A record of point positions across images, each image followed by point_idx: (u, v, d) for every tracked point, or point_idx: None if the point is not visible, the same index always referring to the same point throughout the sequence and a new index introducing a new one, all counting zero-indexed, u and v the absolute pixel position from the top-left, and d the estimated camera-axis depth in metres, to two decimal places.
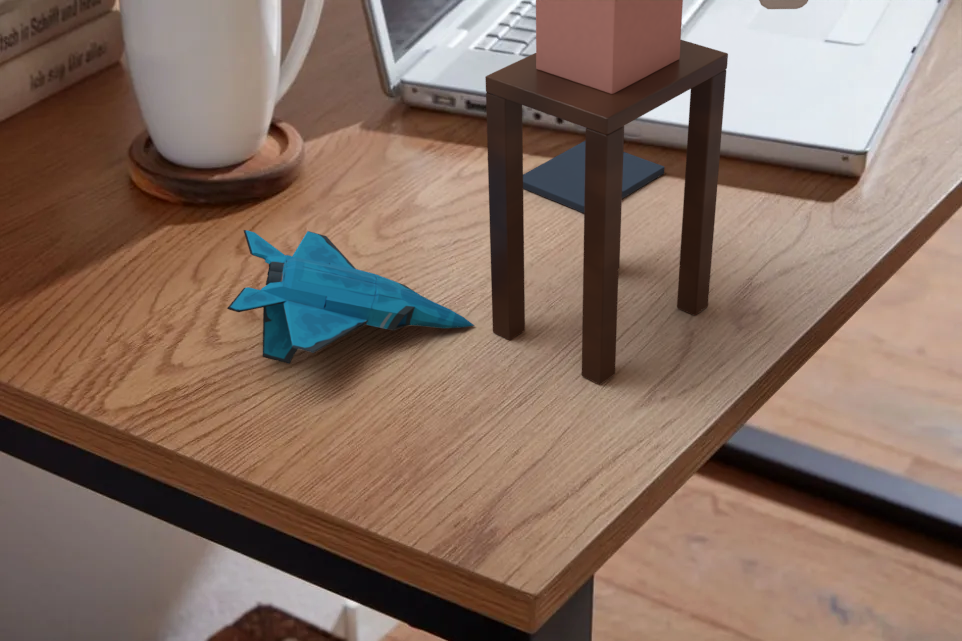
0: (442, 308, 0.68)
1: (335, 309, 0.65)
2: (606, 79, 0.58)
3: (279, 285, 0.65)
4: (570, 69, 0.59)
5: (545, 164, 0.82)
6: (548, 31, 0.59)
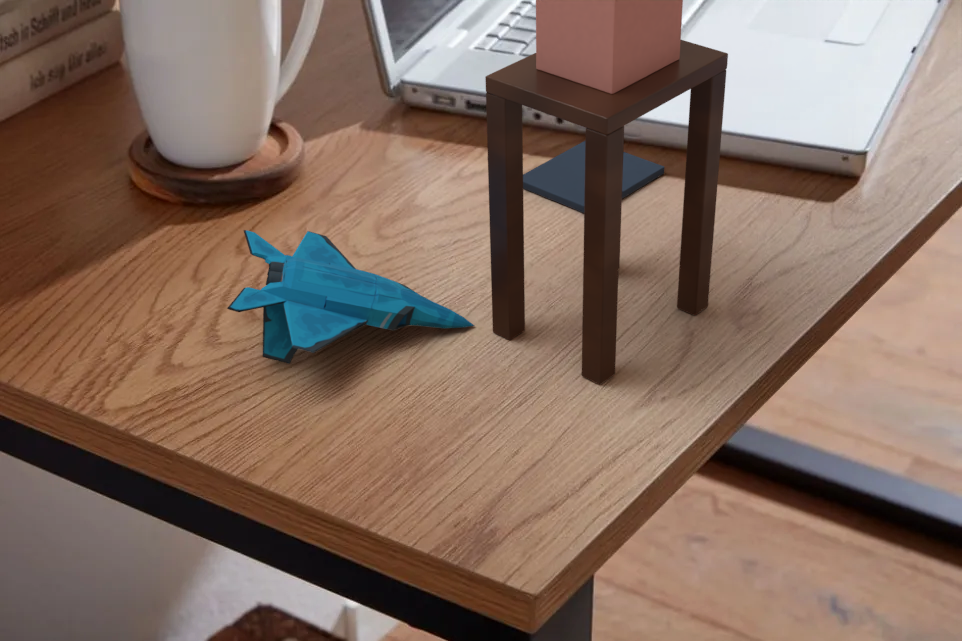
0: (442, 308, 0.68)
1: (335, 309, 0.65)
2: (606, 79, 0.58)
3: (279, 285, 0.65)
4: (570, 69, 0.59)
5: (545, 164, 0.82)
6: (548, 31, 0.59)
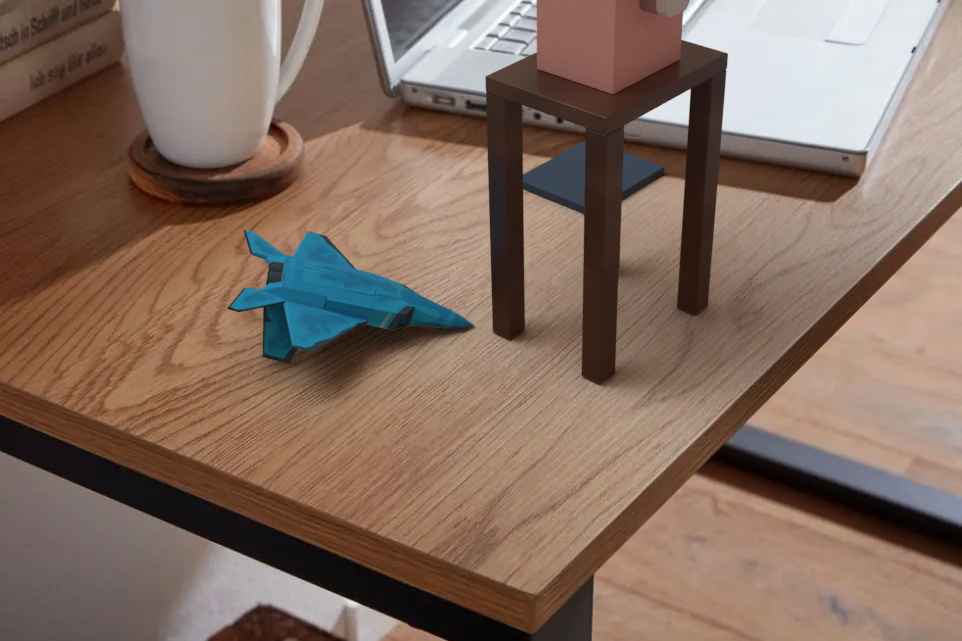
0: (442, 308, 0.68)
1: (335, 309, 0.65)
2: (607, 79, 0.58)
3: (279, 285, 0.65)
4: (571, 69, 0.59)
5: (545, 164, 0.82)
6: (549, 31, 0.59)
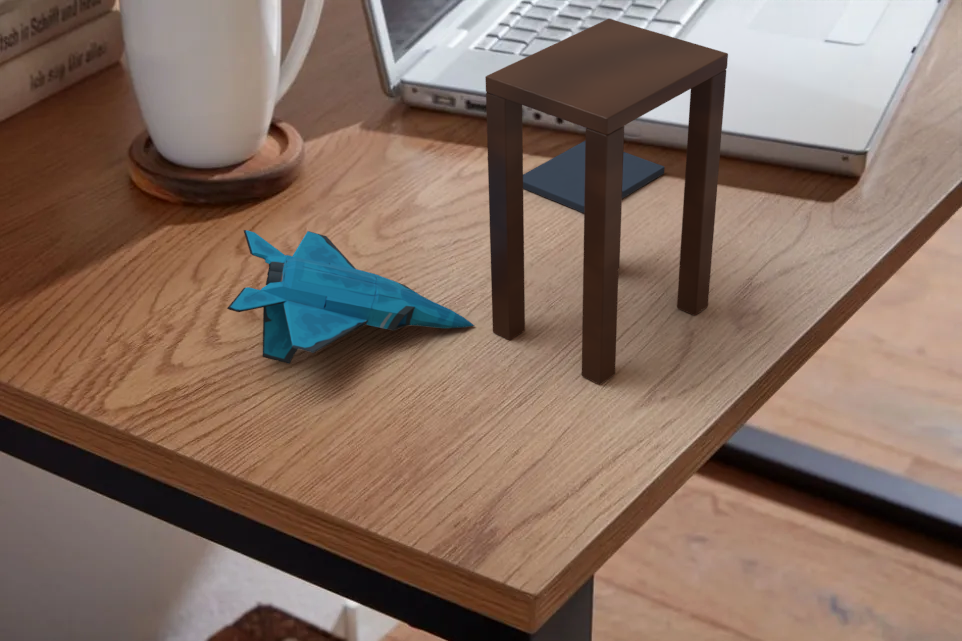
0: (442, 308, 0.68)
1: (335, 309, 0.65)
2: None
3: (279, 285, 0.65)
4: None
5: (545, 164, 0.82)
6: None
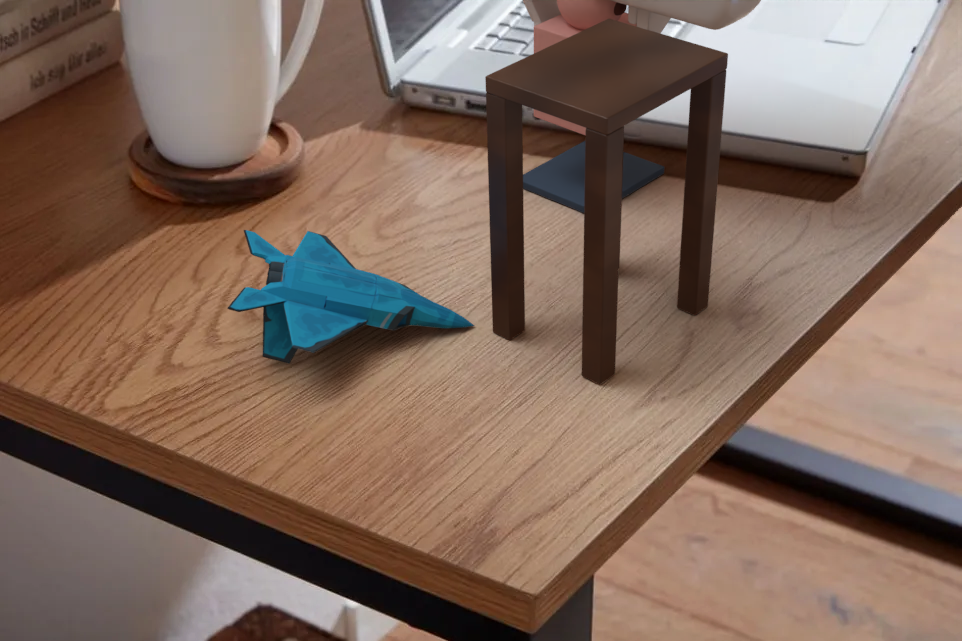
0: (442, 308, 0.68)
1: (335, 309, 0.65)
2: None
3: (279, 285, 0.65)
4: None
5: (545, 164, 0.82)
6: None
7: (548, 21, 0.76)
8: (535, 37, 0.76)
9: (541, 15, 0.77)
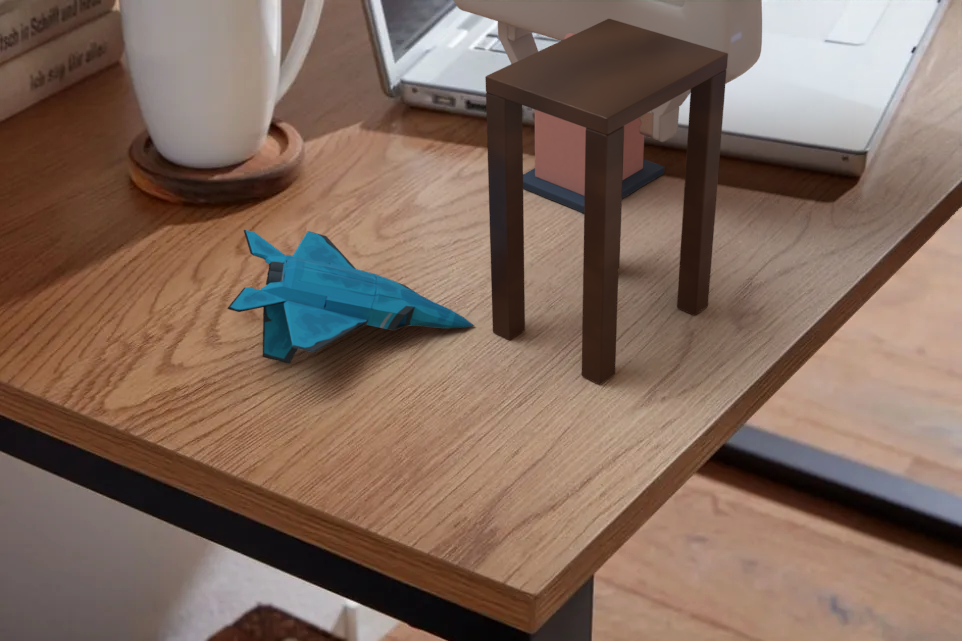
0: (442, 309, 0.68)
1: (335, 309, 0.65)
2: None
3: (279, 285, 0.65)
4: (560, 178, 0.79)
5: None
6: (544, 150, 0.79)
7: None
8: None
9: None
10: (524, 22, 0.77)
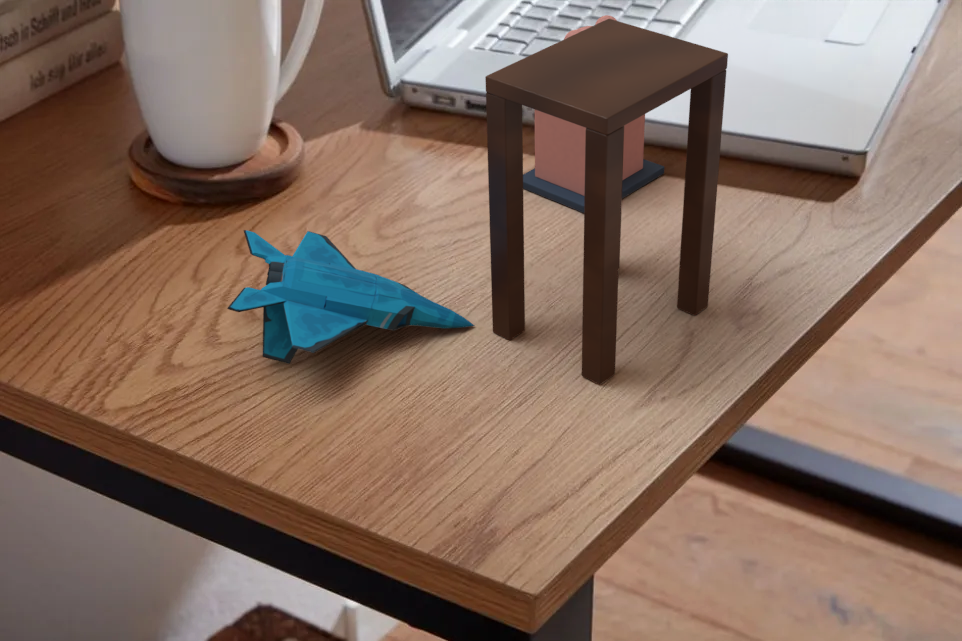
0: (442, 308, 0.68)
1: (335, 309, 0.65)
2: None
3: (279, 285, 0.65)
4: (560, 178, 0.79)
5: None
6: (544, 150, 0.79)
7: None
8: None
9: None
10: None
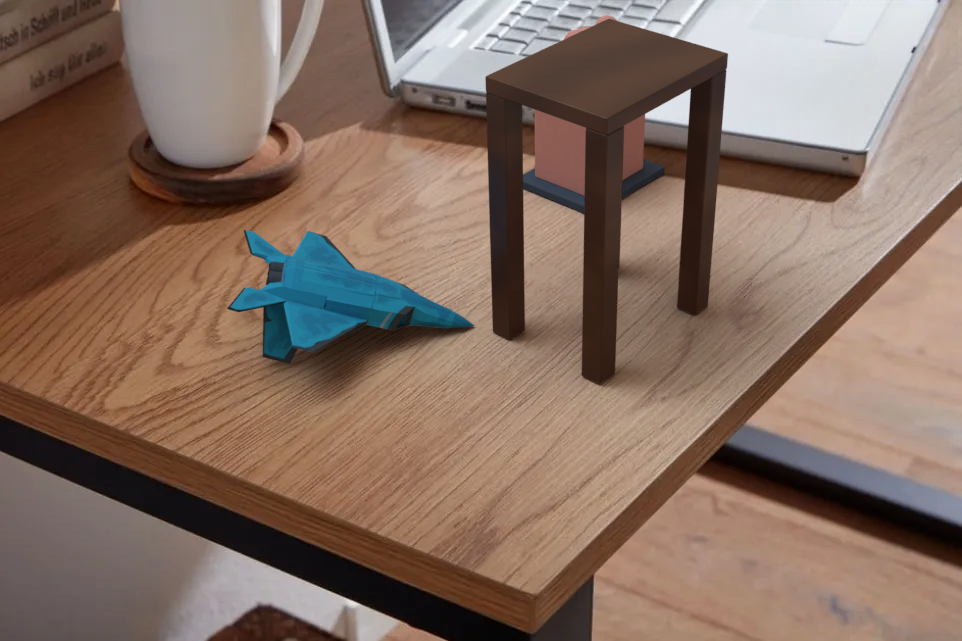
0: (442, 308, 0.68)
1: (335, 309, 0.65)
2: None
3: (279, 285, 0.65)
4: (560, 178, 0.79)
5: None
6: (544, 150, 0.79)
7: None
8: None
9: None
10: None
